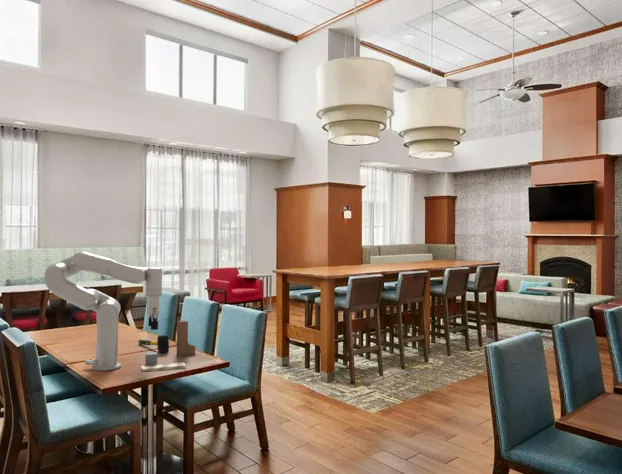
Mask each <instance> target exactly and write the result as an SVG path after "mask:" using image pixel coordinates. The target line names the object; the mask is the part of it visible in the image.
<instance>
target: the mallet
mask: <svg viewBox="0 0 622 474" xmlns="http://www.w3.org/2000/svg"><path fill="white" fill-rule="evenodd" d="M169 339H170V338H169V335H168V334H162V335H161V334H160V335H158V336H157V341H154V340H153V341H152V340H147V339H138V345H139V346H141V345H144V346H157V351H158V353H157V354H166V353H168V352H169V351H170V340H169Z"/></svg>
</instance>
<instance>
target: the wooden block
mask: <svg viewBox="0 0 622 474" xmlns="http://www.w3.org/2000/svg"><path fill="white" fill-rule="evenodd" d="M176 322H177V327H176V328H177V329H176V331H177V333H176V355H177V356H179V357H182V356H184V357H185V356H190V355H195V354H196V345H193V344H192V343H191V344H190V343H189V339H188V337H189V321H187V320H178V321H176Z"/></svg>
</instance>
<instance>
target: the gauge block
mask: <svg viewBox="0 0 622 474" xmlns="http://www.w3.org/2000/svg"><path fill="white" fill-rule="evenodd" d="M144 363H145V364H144V366H145V365H158V353H157V351H155V352H154V351H153V352H152V351H151V352H145V362H144Z"/></svg>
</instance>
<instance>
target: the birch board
mask: <svg viewBox="0 0 622 474" xmlns="http://www.w3.org/2000/svg"><path fill="white" fill-rule="evenodd" d="M186 368H187V364H185V362H174V363H173V362H172V363H162V364H161V363H160V364H158V363H157V365H145V364H144V365H141V366H140V370H141V371H142V372H153V371H163V370H166V371H167V370H176V369H177V370H178V369H186Z"/></svg>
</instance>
